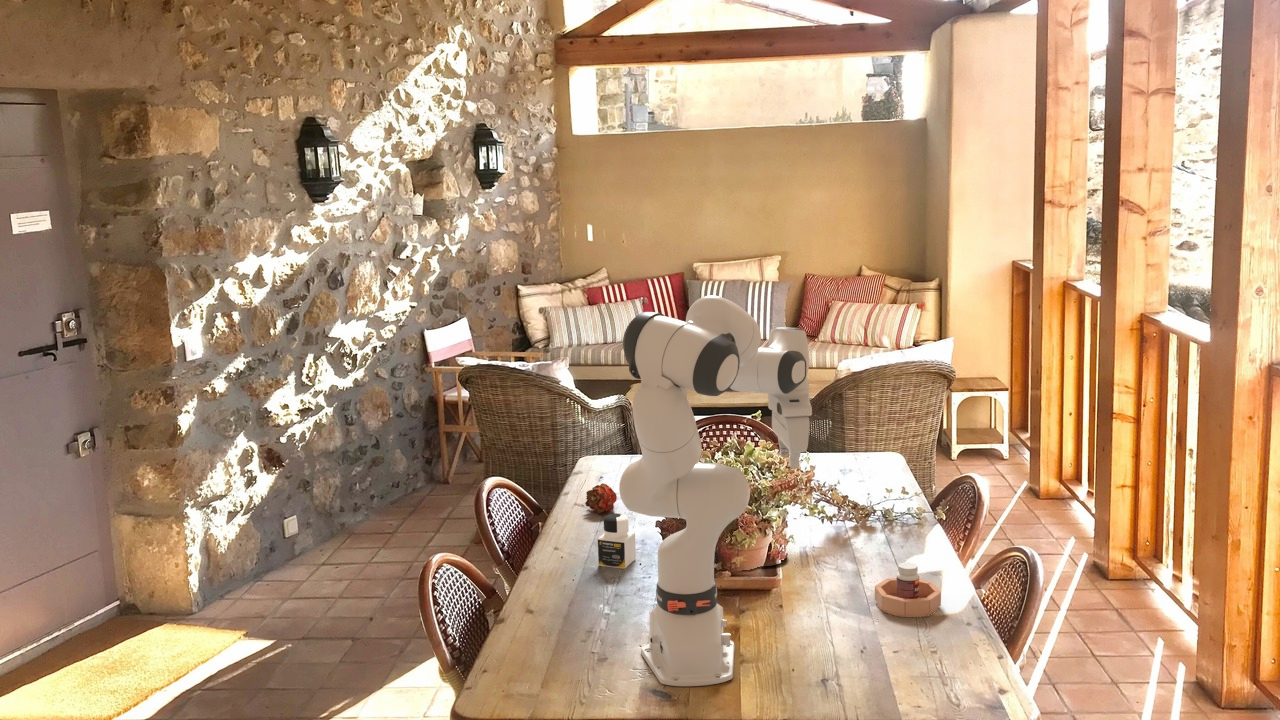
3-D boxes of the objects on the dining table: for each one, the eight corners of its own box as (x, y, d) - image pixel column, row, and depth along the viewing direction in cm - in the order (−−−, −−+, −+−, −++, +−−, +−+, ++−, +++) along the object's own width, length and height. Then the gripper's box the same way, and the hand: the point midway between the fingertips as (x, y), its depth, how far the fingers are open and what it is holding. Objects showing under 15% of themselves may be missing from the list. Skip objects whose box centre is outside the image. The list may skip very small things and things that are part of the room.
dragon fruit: (595, 524, 303) (601, 516, 315) (620, 506, 302) (625, 498, 314) (577, 499, 303) (584, 492, 315) (601, 481, 303) (607, 475, 314)
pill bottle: (919, 607, 236) (919, 570, 234) (896, 606, 237) (897, 569, 235) (918, 598, 240) (918, 562, 239) (896, 597, 241) (896, 561, 240)
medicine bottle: (598, 566, 268) (596, 519, 265) (609, 556, 274) (608, 510, 272) (625, 569, 265) (623, 521, 263) (636, 559, 271) (634, 512, 269)
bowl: (947, 615, 233) (947, 598, 232) (887, 619, 232) (887, 602, 231) (926, 592, 246) (926, 576, 245) (869, 595, 245) (869, 579, 244)
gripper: (764, 390, 248) (765, 450, 250) (784, 411, 228) (784, 475, 230) (792, 389, 248) (792, 448, 251) (814, 409, 228) (814, 474, 231)
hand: (789, 461), depth 240 cm, fingers open, 8 cm apart
